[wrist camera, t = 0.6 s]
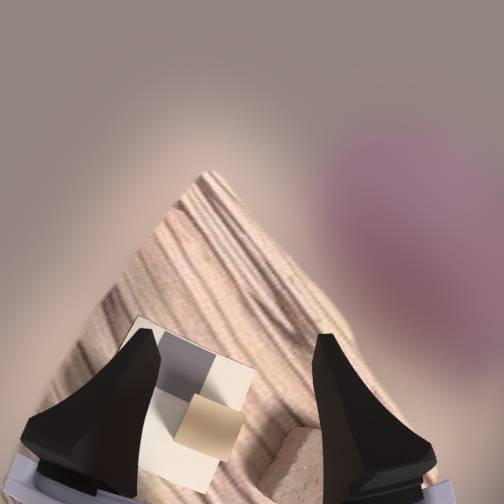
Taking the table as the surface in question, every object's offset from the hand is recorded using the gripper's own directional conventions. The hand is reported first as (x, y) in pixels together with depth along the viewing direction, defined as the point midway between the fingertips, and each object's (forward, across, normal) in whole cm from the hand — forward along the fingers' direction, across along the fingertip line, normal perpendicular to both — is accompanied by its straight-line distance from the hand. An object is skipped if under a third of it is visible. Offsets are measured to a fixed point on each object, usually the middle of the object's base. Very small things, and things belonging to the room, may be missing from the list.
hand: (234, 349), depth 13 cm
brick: (0, -10, +23) cm, 25 cm away
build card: (+5, +7, +15) cm, 17 cm away
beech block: (+4, +4, +16) cm, 17 cm away
